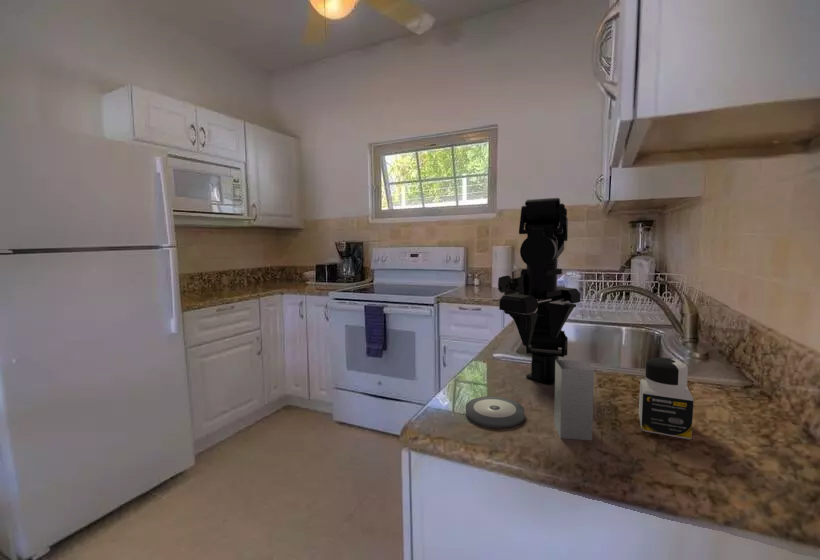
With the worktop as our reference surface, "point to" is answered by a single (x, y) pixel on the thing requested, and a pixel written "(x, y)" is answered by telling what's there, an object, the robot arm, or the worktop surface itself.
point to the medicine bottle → (666, 399)
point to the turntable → (495, 412)
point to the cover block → (573, 399)
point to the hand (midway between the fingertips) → (540, 341)
